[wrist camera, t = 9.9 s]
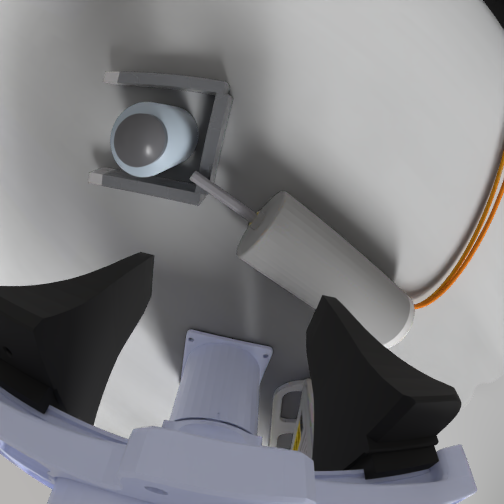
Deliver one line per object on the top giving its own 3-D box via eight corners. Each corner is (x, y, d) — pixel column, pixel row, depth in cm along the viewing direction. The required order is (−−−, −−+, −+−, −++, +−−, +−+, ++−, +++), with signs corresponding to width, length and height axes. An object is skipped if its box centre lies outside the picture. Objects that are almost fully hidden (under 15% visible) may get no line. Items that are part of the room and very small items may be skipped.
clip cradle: (210, 198, 20) (204, 207, 18) (103, 177, 20) (88, 182, 18) (236, 87, 17) (232, 82, 15) (119, 75, 16) (105, 71, 14)
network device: (321, 459, 36) (329, 563, 18) (267, 461, 37) (264, 568, 19) (362, 355, 26) (410, 544, 8) (275, 358, 26) (275, 568, 8)
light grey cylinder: (186, 174, 20) (161, 190, 15) (133, 156, 19) (96, 167, 14) (207, 115, 18) (187, 112, 13) (151, 99, 17) (116, 94, 13)
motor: (382, 345, 25) (406, 376, 20) (177, 203, 20) (160, 216, 15) (503, 164, 20) (537, 170, 15) (357, -8, 15) (381, -35, 10)
